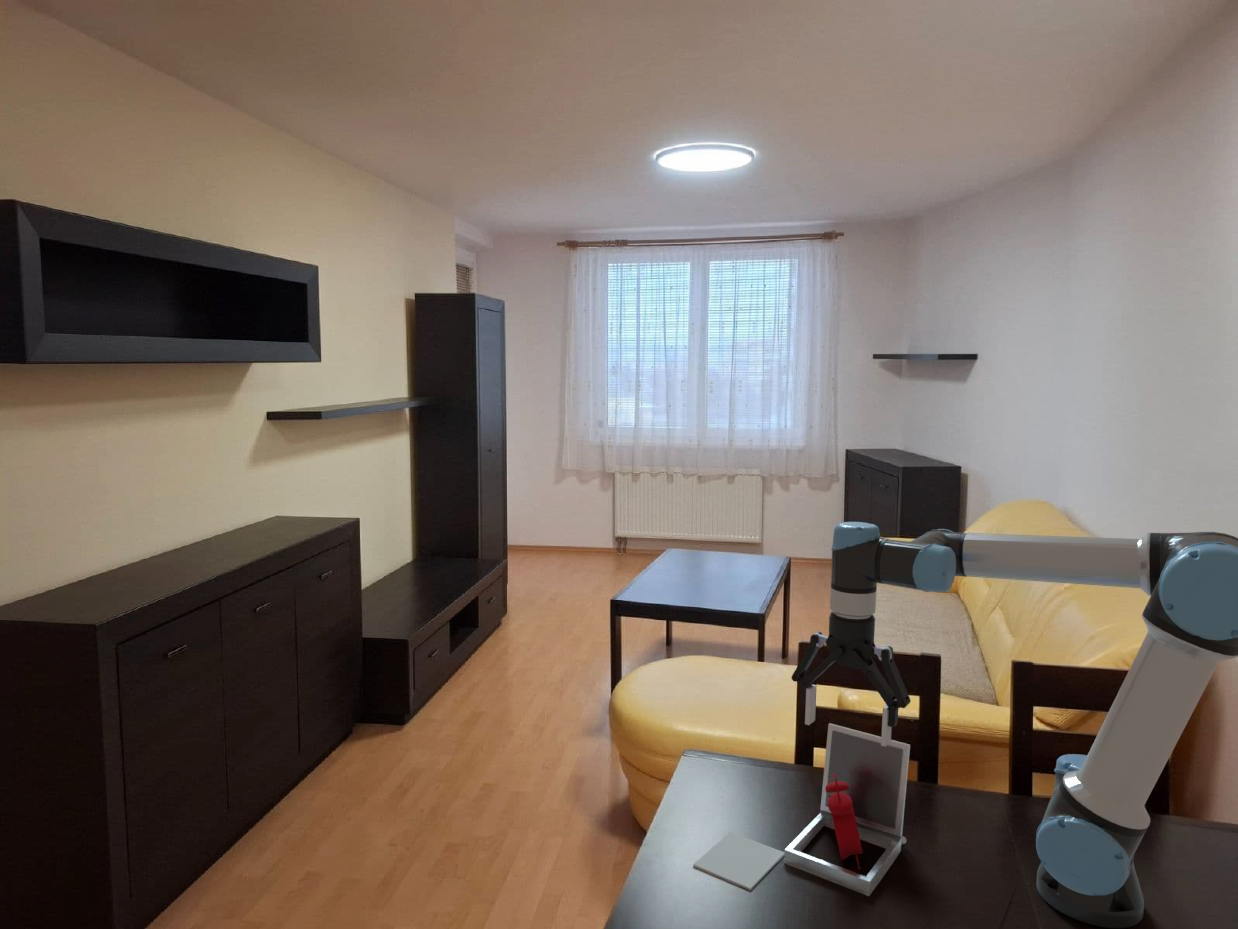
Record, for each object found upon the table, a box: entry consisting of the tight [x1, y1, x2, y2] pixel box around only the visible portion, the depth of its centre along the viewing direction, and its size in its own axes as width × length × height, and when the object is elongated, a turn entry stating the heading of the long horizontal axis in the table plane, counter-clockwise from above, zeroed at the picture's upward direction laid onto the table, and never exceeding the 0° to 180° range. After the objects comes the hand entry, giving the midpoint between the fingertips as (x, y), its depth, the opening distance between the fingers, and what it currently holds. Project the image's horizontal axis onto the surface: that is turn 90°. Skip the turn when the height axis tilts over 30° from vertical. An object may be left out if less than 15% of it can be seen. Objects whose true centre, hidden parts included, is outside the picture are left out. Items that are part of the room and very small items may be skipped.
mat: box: [692, 831, 784, 892], centre depth 141 cm, size 11×13×1 cm
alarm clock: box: [825, 772, 864, 870], centre depth 142 cm, size 10×6×15 cm, turn 170°
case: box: [783, 809, 902, 897], centre depth 143 cm, size 15×16×3 cm
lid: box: [820, 722, 911, 836], centre depth 149 cm, size 15×16×1 cm
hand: (846, 732), depth 141 cm, fingers open, 13 cm apart
